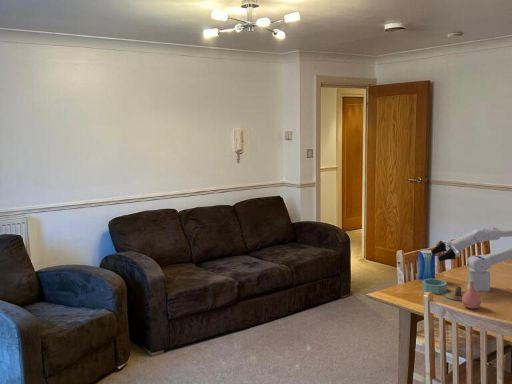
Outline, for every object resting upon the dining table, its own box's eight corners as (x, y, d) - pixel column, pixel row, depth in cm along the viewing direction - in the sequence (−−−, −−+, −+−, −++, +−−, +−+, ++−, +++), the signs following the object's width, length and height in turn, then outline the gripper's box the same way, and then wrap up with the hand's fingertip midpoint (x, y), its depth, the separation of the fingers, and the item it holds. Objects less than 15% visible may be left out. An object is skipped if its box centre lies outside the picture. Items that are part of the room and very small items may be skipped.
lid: (470, 293, 238) (470, 283, 237) (473, 302, 226) (474, 292, 226) (443, 292, 241) (443, 282, 240) (445, 300, 230) (445, 290, 229)
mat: (472, 293, 239) (472, 292, 238) (476, 304, 225) (476, 303, 225) (441, 292, 242) (441, 291, 242) (443, 302, 229) (443, 301, 229)
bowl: (445, 288, 248) (445, 279, 247) (447, 295, 237) (447, 286, 237) (421, 286, 251) (422, 278, 250) (423, 294, 240) (423, 285, 240)
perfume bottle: (474, 304, 225) (474, 278, 223) (484, 310, 217) (485, 283, 216) (458, 306, 223) (458, 280, 222) (468, 312, 216) (468, 285, 214)
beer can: (435, 284, 254) (436, 253, 252) (418, 283, 256) (418, 253, 254) (433, 279, 262) (433, 249, 260) (416, 278, 264) (417, 249, 262)
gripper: (451, 231, 248) (426, 243, 248) (466, 242, 234) (439, 255, 234) (455, 242, 250) (430, 254, 250) (470, 254, 236) (444, 267, 237)
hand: (435, 255), depth 243 cm, fingers open, 7 cm apart
